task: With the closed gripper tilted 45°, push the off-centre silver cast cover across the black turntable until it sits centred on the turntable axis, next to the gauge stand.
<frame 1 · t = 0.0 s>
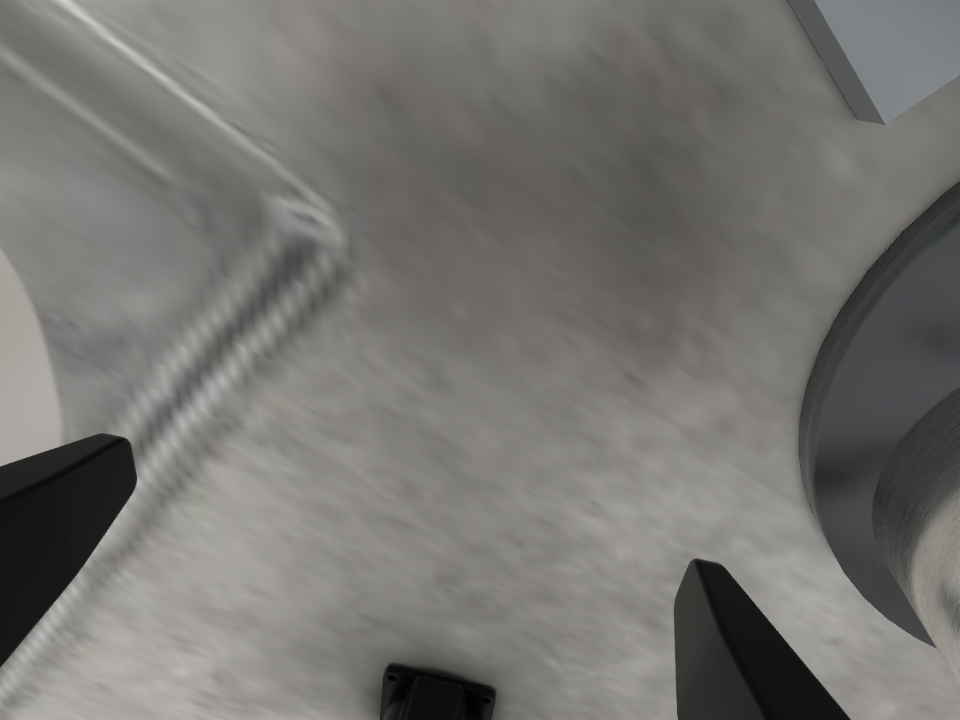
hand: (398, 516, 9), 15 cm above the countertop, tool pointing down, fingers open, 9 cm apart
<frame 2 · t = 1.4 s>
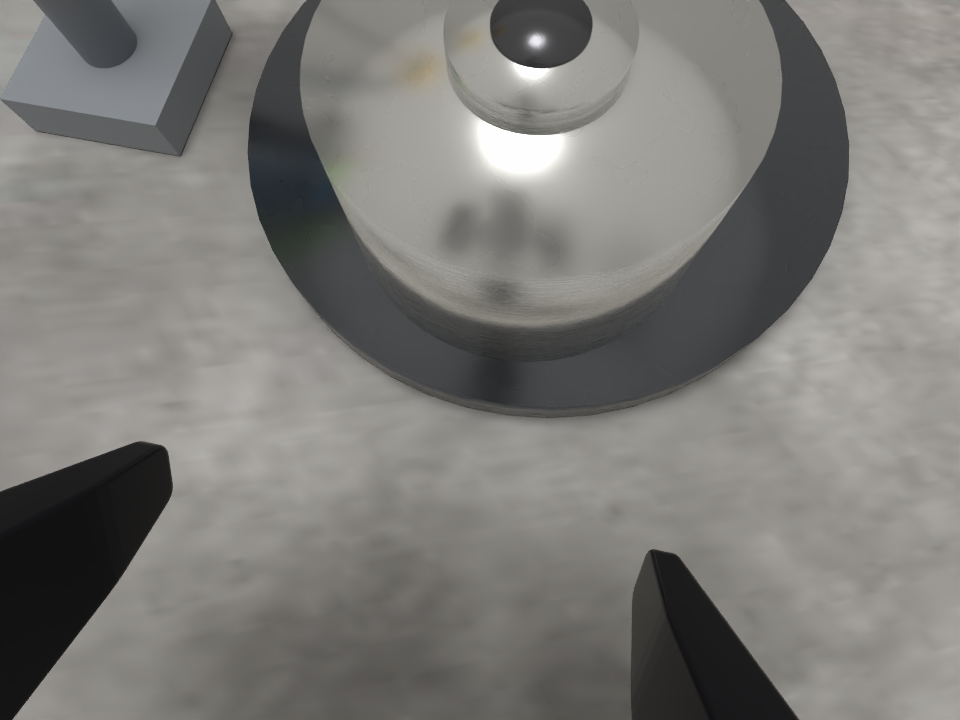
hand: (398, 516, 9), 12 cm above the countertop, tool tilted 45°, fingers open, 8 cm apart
turntable: (542, 128, 25), point 1 cm above the countertop, hinge at 0.0°, touching cover
cover: (525, 200, 23), point 2 cm above the countertop, touching turntable
gauge stand: (136, 80, 27), on the countertop
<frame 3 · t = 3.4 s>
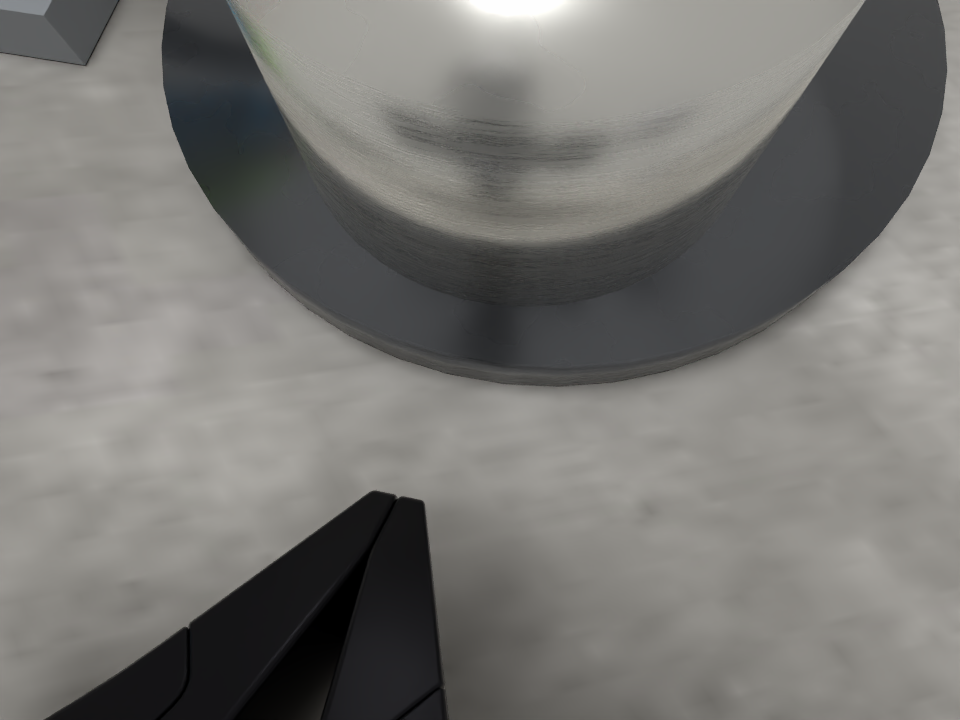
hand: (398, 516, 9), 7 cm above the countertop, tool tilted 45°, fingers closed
turntable: (544, 20, 19), point 1 cm above the countertop, hinge at 0.0°, touching cover
cover: (523, 101, 17), point 2 cm above the countertop, touching turntable
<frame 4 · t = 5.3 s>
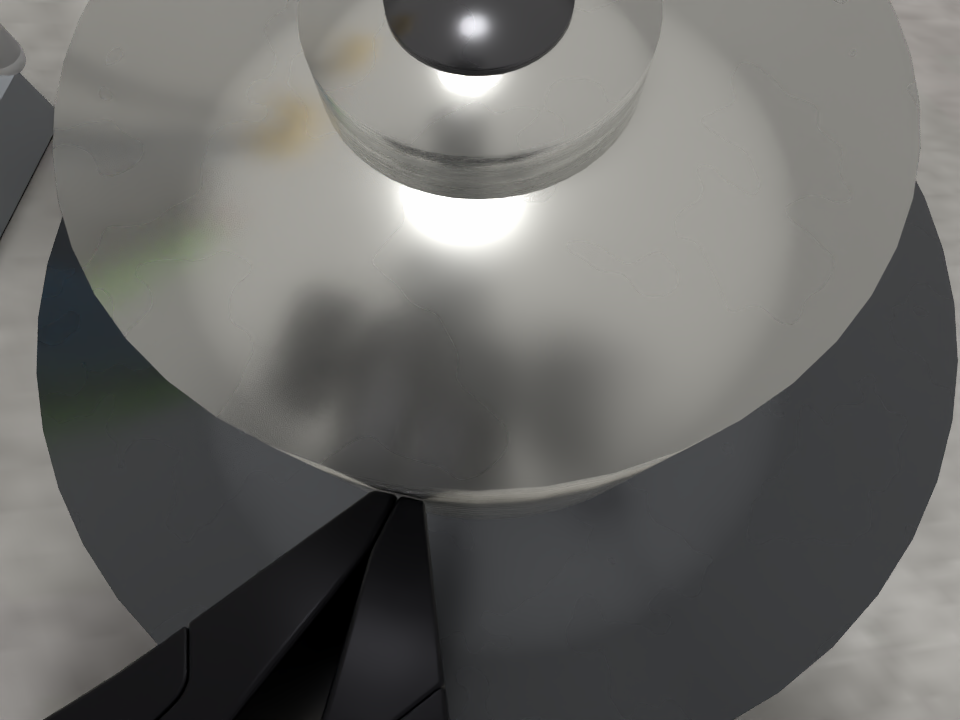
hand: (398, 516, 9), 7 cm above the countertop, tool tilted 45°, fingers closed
turntable: (489, 270, 17), point 1 cm above the countertop, hinge at 0.0°, touching cover
cover: (485, 267, 16), point 2 cm above the countertop, touching turntable
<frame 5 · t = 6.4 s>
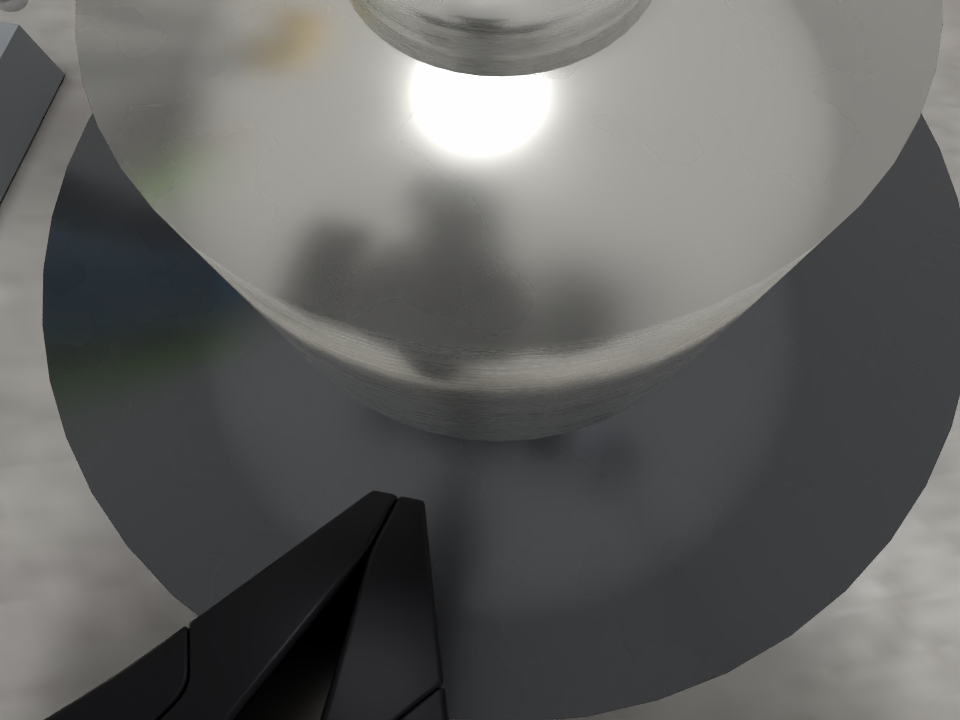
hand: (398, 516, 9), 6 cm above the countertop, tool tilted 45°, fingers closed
turntable: (497, 223, 16), point 1 cm above the countertop, hinge at 0.0°, touching cover
cover: (498, 198, 16), point 2 cm above the countertop, touching turntable
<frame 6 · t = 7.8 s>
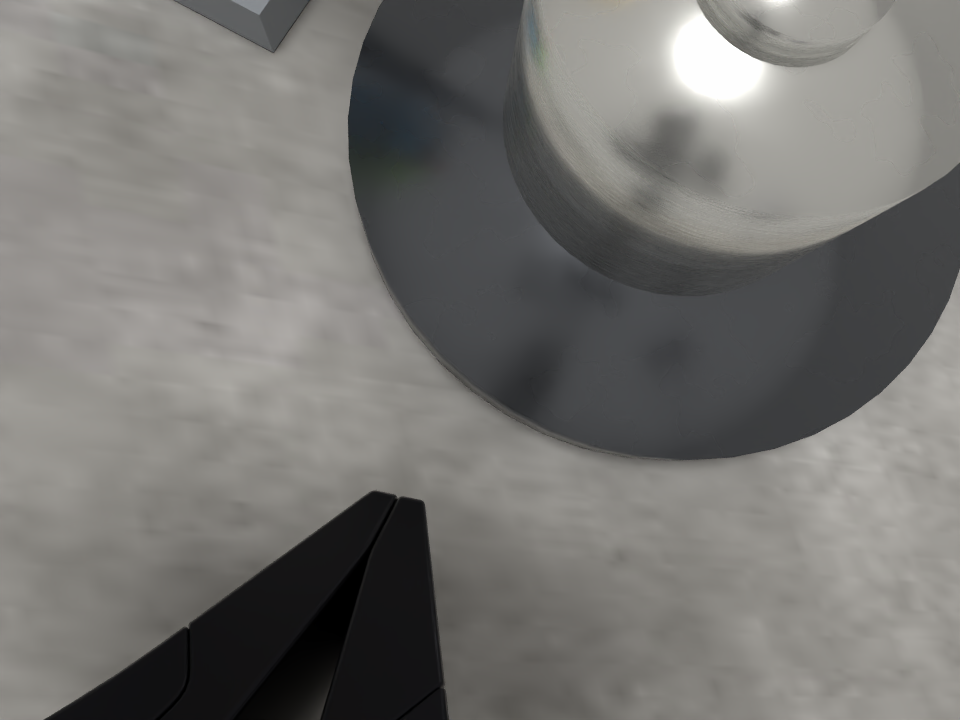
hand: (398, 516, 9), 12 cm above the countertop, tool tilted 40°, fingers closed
turntable: (663, 147, 23), point 1 cm above the countertop, hinge at 0.0°, touching cover
cover: (673, 130, 22), point 2 cm above the countertop, touching turntable
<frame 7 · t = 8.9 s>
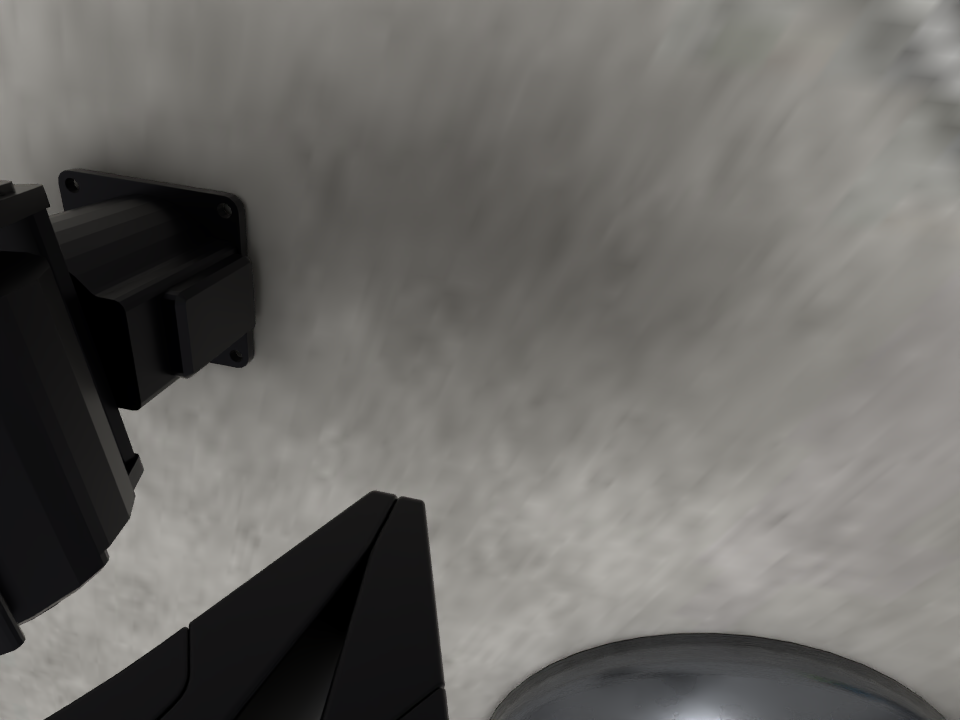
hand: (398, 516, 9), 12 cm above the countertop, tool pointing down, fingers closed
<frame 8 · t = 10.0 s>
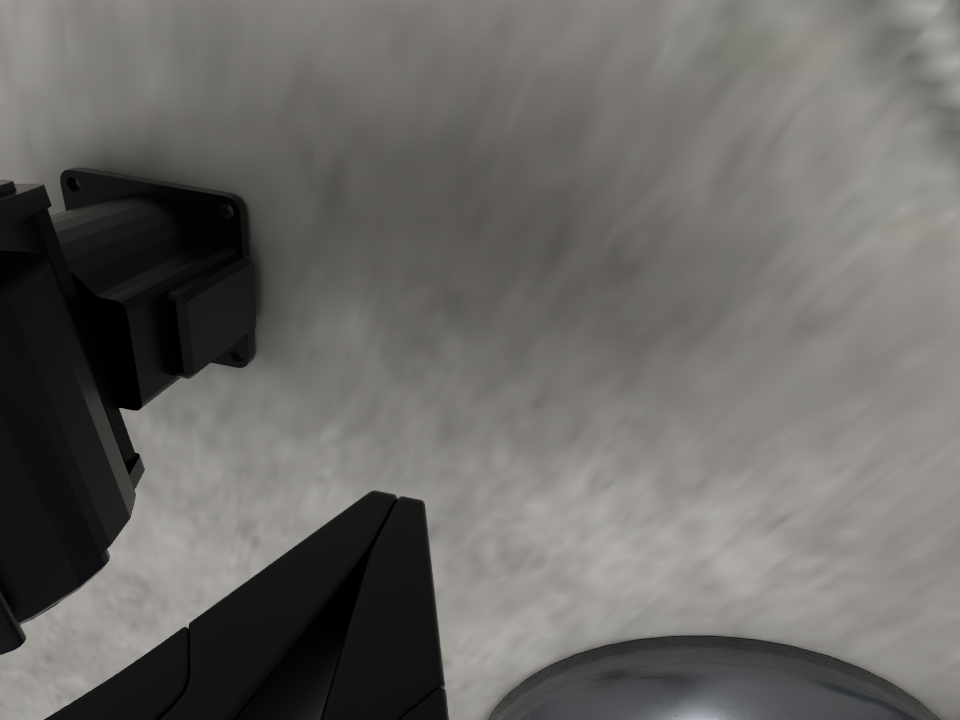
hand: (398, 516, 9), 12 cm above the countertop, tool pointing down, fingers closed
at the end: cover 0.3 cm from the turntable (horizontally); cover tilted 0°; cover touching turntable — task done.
